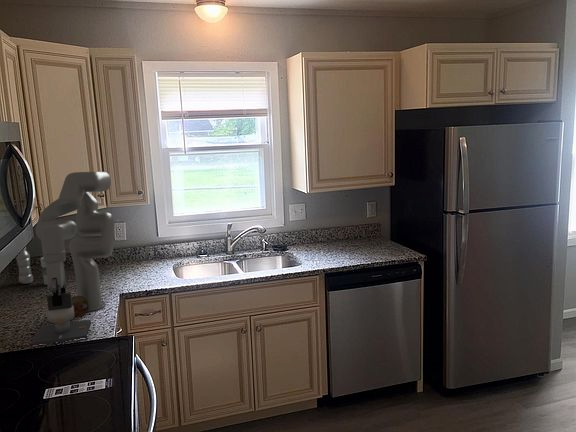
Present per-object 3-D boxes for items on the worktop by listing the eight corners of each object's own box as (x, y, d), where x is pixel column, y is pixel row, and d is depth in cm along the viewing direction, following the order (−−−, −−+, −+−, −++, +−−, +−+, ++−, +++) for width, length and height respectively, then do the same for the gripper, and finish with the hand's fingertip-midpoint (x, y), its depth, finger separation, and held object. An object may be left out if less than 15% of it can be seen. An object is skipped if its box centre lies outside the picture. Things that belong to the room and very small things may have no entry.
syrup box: (60, 281, 257) (57, 254, 255) (53, 285, 251) (50, 257, 249) (49, 282, 258) (46, 255, 255) (43, 285, 252) (39, 257, 250)
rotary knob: (50, 316, 188) (47, 292, 187) (76, 312, 191) (73, 289, 189) (45, 326, 178) (42, 301, 176) (72, 322, 180) (69, 297, 179)
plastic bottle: (27, 285, 253) (23, 247, 250) (16, 285, 254) (11, 247, 251) (36, 281, 259) (31, 244, 256) (25, 281, 260) (20, 244, 257)
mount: (41, 329, 192) (39, 314, 191) (91, 323, 197) (89, 308, 196) (32, 346, 175) (30, 330, 175) (86, 339, 180) (85, 323, 180)
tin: (50, 320, 201) (47, 300, 200) (51, 317, 204) (49, 298, 203) (89, 315, 206) (87, 296, 204) (90, 313, 209) (88, 294, 207)
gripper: (47, 253, 188) (52, 296, 191) (39, 263, 172) (44, 310, 175) (68, 251, 190) (73, 293, 193) (62, 261, 174) (67, 307, 177)
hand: (59, 301), depth 184 cm, fingers open, 9 cm apart
